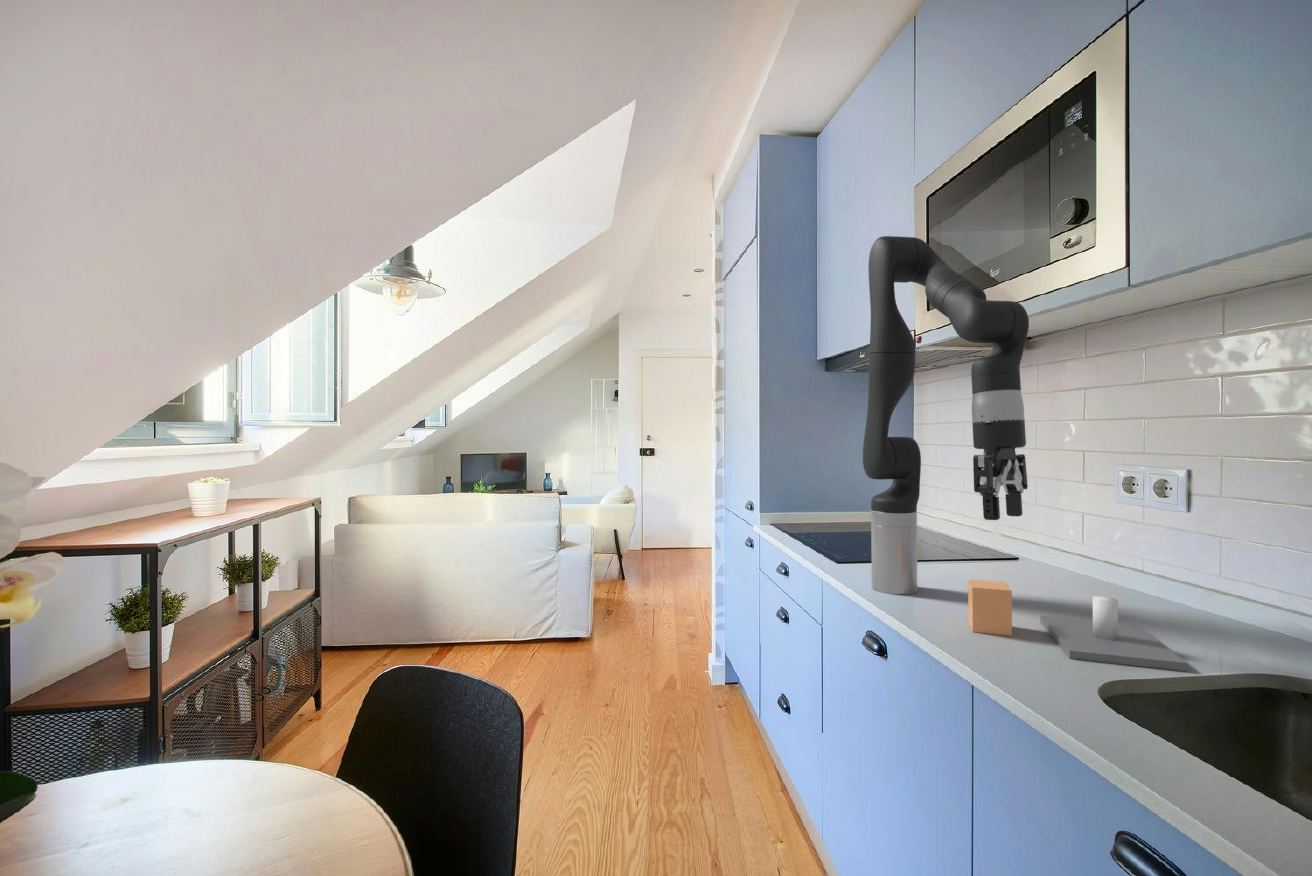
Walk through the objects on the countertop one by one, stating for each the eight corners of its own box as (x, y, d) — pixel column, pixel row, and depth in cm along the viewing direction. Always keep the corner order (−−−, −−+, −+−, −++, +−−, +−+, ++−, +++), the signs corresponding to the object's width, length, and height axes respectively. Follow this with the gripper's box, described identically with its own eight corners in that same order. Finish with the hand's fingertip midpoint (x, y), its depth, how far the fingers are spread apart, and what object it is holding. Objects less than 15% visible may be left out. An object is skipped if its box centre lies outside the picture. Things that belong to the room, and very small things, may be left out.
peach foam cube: (968, 621, 105) (968, 579, 105) (1005, 625, 103) (1005, 582, 103) (972, 632, 100) (972, 587, 99) (1011, 636, 97) (1011, 590, 97)
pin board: (1040, 621, 104) (1040, 581, 104) (1136, 630, 99) (1136, 588, 99) (1069, 658, 88) (1069, 610, 88) (1187, 671, 83) (1187, 620, 82)
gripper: (993, 422, 104) (998, 514, 103) (954, 420, 96) (959, 519, 95) (1040, 419, 98) (1046, 516, 97) (1003, 416, 90) (1009, 522, 89)
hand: (1003, 517), depth 96 cm, fingers open, 8 cm apart
